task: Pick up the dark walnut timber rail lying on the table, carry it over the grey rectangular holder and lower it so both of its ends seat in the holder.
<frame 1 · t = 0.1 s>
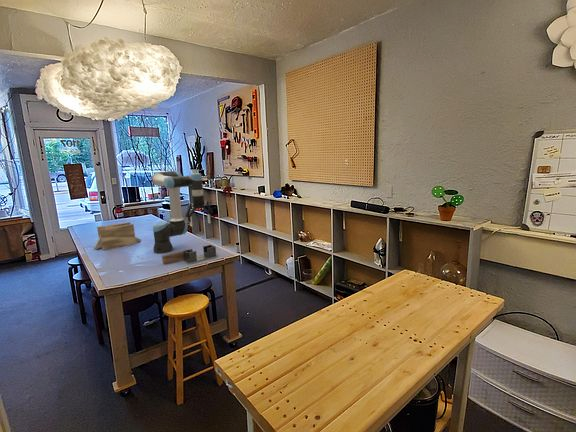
hand: (200, 224, 220), 28 cm above the table, fingers open, 13 cm apart
grey rectangular holder: (200, 258, 232), on the table
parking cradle: (118, 245, 273), on the table
wall bracket: (118, 245, 274), on the table
rail: (175, 261, 229), on the table
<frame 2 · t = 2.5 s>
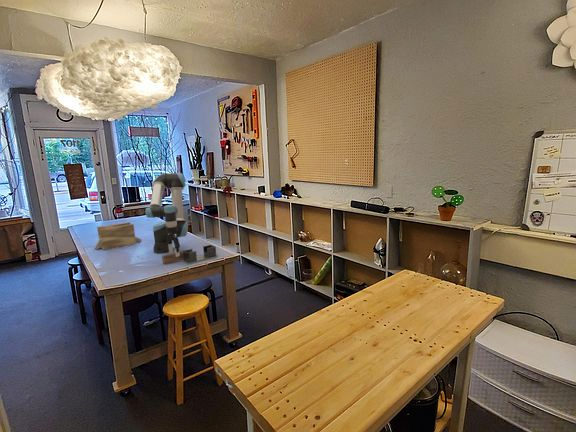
hand: (174, 254, 227), 5 cm above the table, fingers open, 13 cm apart
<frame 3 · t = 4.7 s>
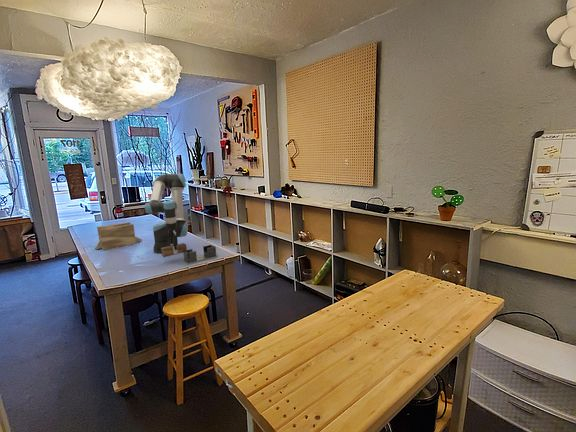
hand: (174, 252, 228), 6 cm above the table, fingers closed on rail, 4 cm apart
rail: (174, 253, 228), point 5 cm above the table, touching gripper
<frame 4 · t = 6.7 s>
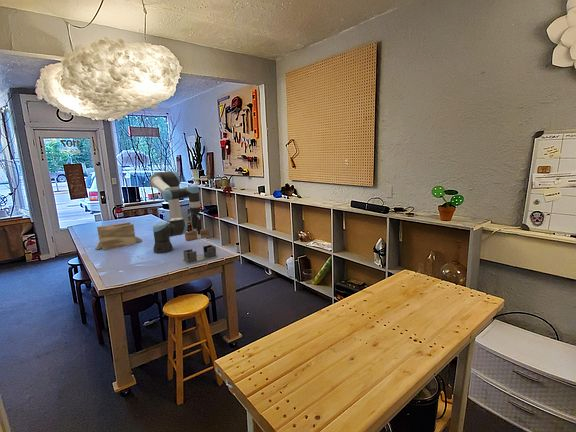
hand: (197, 237, 228), 17 cm above the table, fingers closed on rail, 4 cm apart
rail: (197, 238, 228), point 16 cm above the table, touching gripper
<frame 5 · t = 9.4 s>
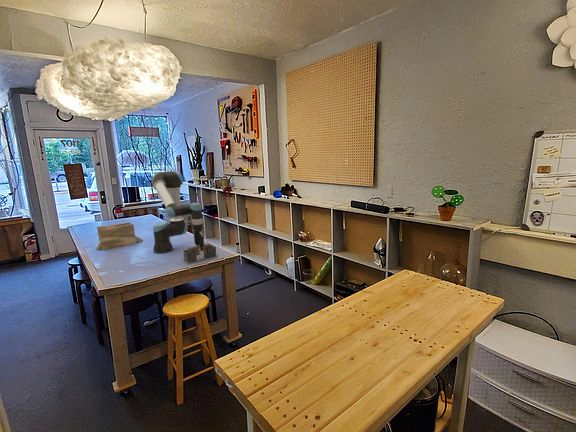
hand: (200, 254, 231), 4 cm above the table, fingers closed on rail, 4 cm apart
rail: (200, 253, 231), point 4 cm above the table, touching grey rectangular holder, gripper
when the fingers open (4 cm above the table, at t = 9.4 s): rail stays where it is, resting on grey rectangular holder.
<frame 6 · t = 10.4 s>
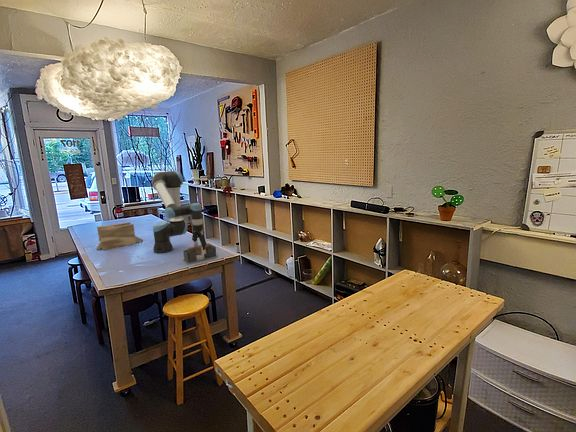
hand: (199, 251, 231), 6 cm above the table, fingers open, 13 cm apart
rail: (200, 253, 231), point 4 cm above the table, touching grey rectangular holder
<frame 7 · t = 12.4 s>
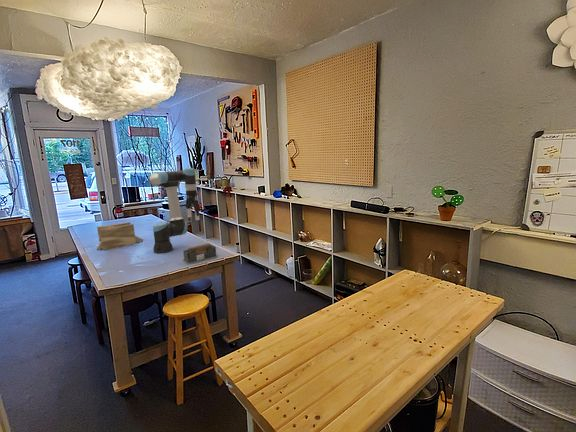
hand: (193, 218, 225), 31 cm above the table, fingers open, 13 cm apart
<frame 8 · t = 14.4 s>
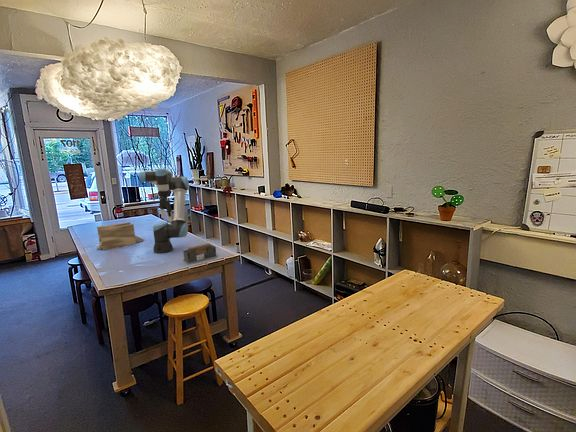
hand: (166, 219, 223), 32 cm above the table, fingers open, 13 cm apart
at the end: rail 0.1 cm off-centre on the grey rectangular holder, point 4.0 cm above the grey rectangular holder's base; rail tilted 0°; the gripper is holding nothing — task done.
